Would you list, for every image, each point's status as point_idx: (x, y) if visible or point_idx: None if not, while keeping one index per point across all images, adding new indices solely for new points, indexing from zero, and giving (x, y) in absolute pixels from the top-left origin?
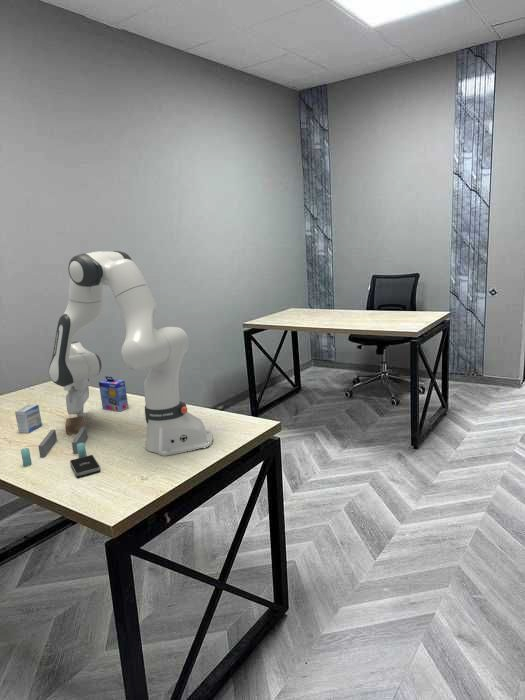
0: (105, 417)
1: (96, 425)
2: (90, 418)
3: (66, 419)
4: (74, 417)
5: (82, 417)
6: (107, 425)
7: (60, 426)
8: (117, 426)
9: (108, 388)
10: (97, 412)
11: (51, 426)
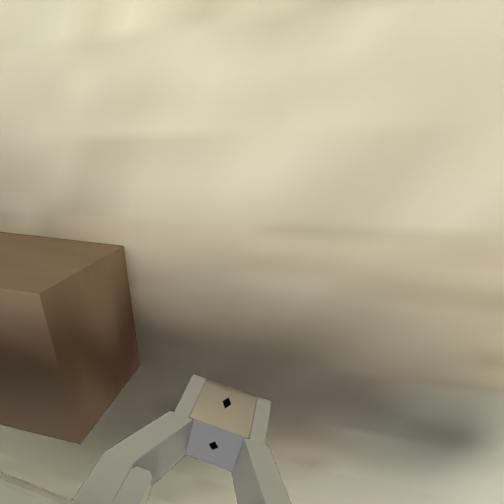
0: None
1: (107, 421)
2: (284, 428)
3: (10, 294)
4: (60, 376)
5: (40, 431)
6: (87, 461)
7: (199, 180)
8: (57, 486)
9: None
10: (413, 497)
11: (252, 66)
